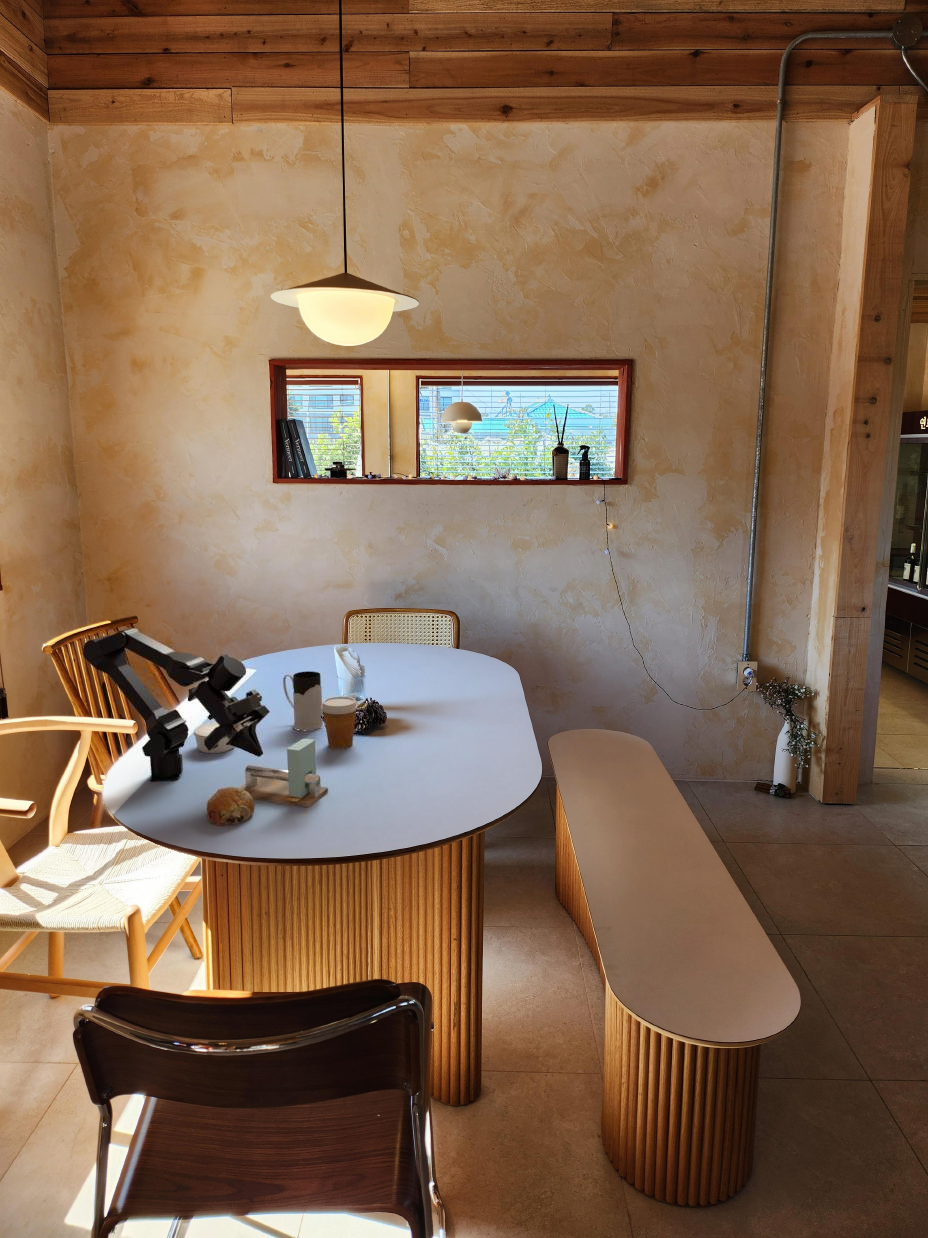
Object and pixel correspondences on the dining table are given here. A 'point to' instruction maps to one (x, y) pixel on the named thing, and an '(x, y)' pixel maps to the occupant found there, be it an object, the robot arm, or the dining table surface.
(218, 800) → the bread roll
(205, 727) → the ramekin
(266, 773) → the grey metal pipe
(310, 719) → the black and white mug
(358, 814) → the dining table surface
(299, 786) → the sage green slotted block
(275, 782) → the walnut board
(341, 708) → the disposable coffee cup
